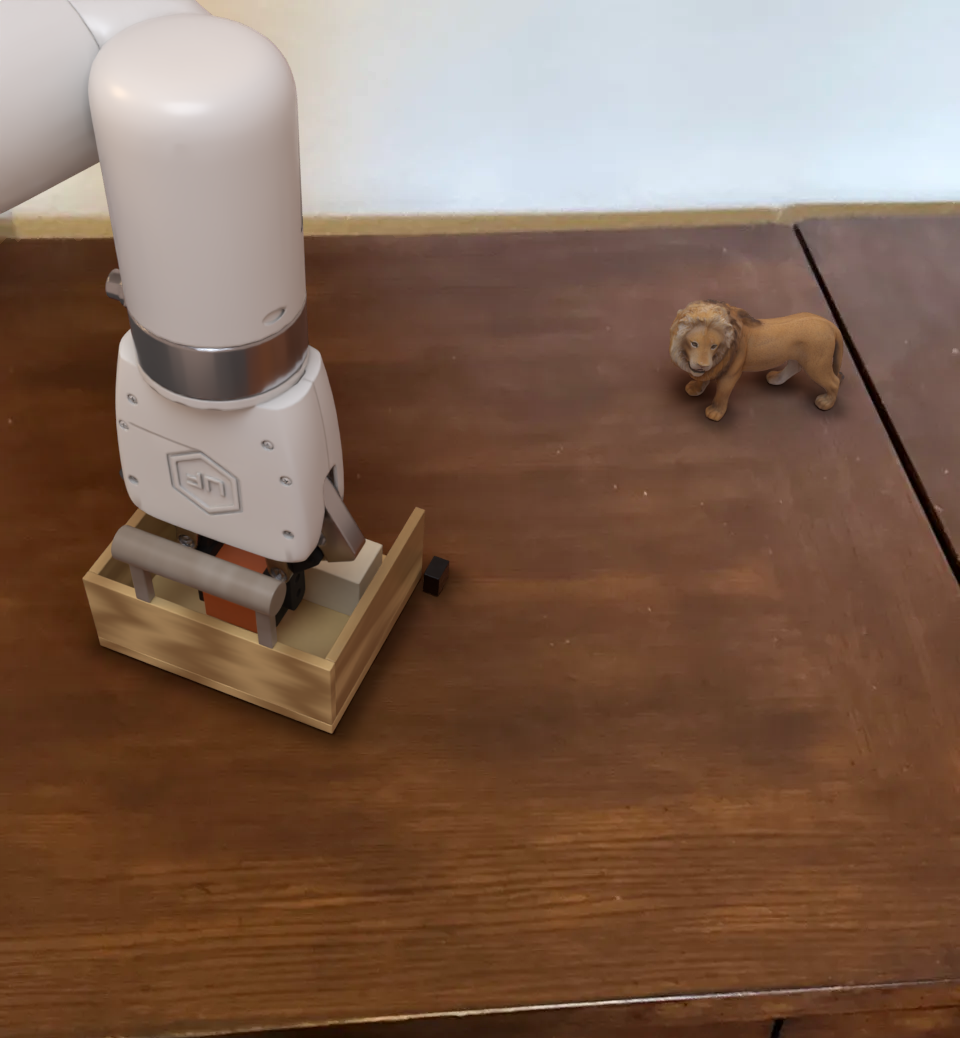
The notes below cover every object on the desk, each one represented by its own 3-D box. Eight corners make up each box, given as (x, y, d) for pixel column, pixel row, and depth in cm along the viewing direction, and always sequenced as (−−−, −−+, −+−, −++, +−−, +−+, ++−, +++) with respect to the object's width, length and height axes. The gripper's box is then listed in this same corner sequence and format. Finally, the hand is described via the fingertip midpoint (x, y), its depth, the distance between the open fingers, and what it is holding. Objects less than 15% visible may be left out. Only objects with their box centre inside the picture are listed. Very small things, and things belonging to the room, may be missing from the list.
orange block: (259, 634, 67) (254, 596, 65) (205, 614, 68) (199, 576, 65) (296, 577, 70) (293, 539, 67) (244, 558, 70) (240, 520, 68)
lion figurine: (669, 446, 83) (697, 338, 76) (636, 393, 86) (660, 285, 79) (858, 406, 87) (903, 299, 80) (821, 356, 90) (860, 250, 83)
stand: (182, 505, 77) (179, 487, 76) (195, 488, 78) (192, 470, 76) (437, 596, 74) (439, 579, 73) (448, 578, 75) (449, 560, 74)
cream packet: (289, 594, 72) (286, 558, 69) (313, 556, 74) (312, 519, 71) (359, 620, 71) (359, 584, 69) (382, 580, 73) (383, 544, 70)
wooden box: (94, 653, 69) (57, 523, 61) (208, 500, 77) (189, 366, 68) (327, 742, 67) (322, 620, 59) (421, 576, 74) (429, 447, 66)
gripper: (5, 321, 53) (82, 595, 68) (356, 439, 51) (358, 698, 65) (101, 228, 58) (154, 503, 72) (429, 332, 55) (416, 597, 70)
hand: (251, 593), depth 69 cm, fingers closed on orange block, 3 cm apart
